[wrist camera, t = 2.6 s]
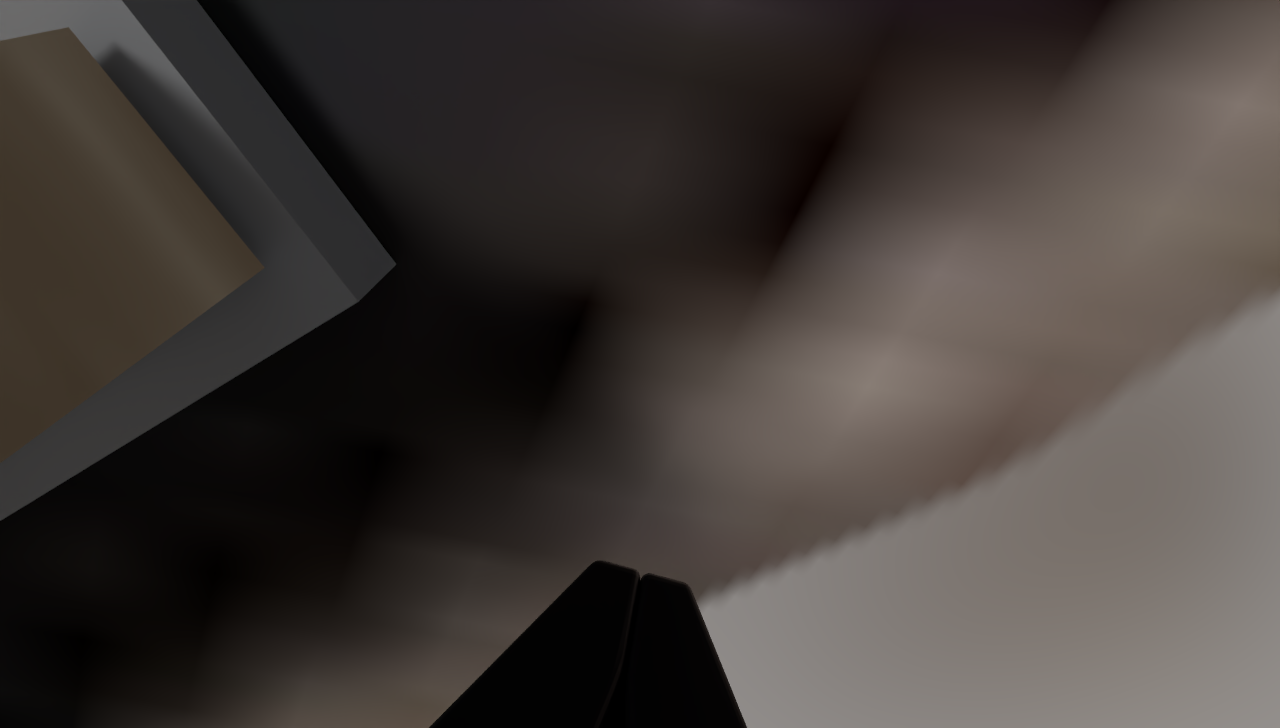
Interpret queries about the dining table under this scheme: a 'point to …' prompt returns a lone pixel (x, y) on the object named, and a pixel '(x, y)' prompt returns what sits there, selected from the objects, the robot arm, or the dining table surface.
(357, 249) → the dark grey flat piece
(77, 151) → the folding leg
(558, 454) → the dining table surface
